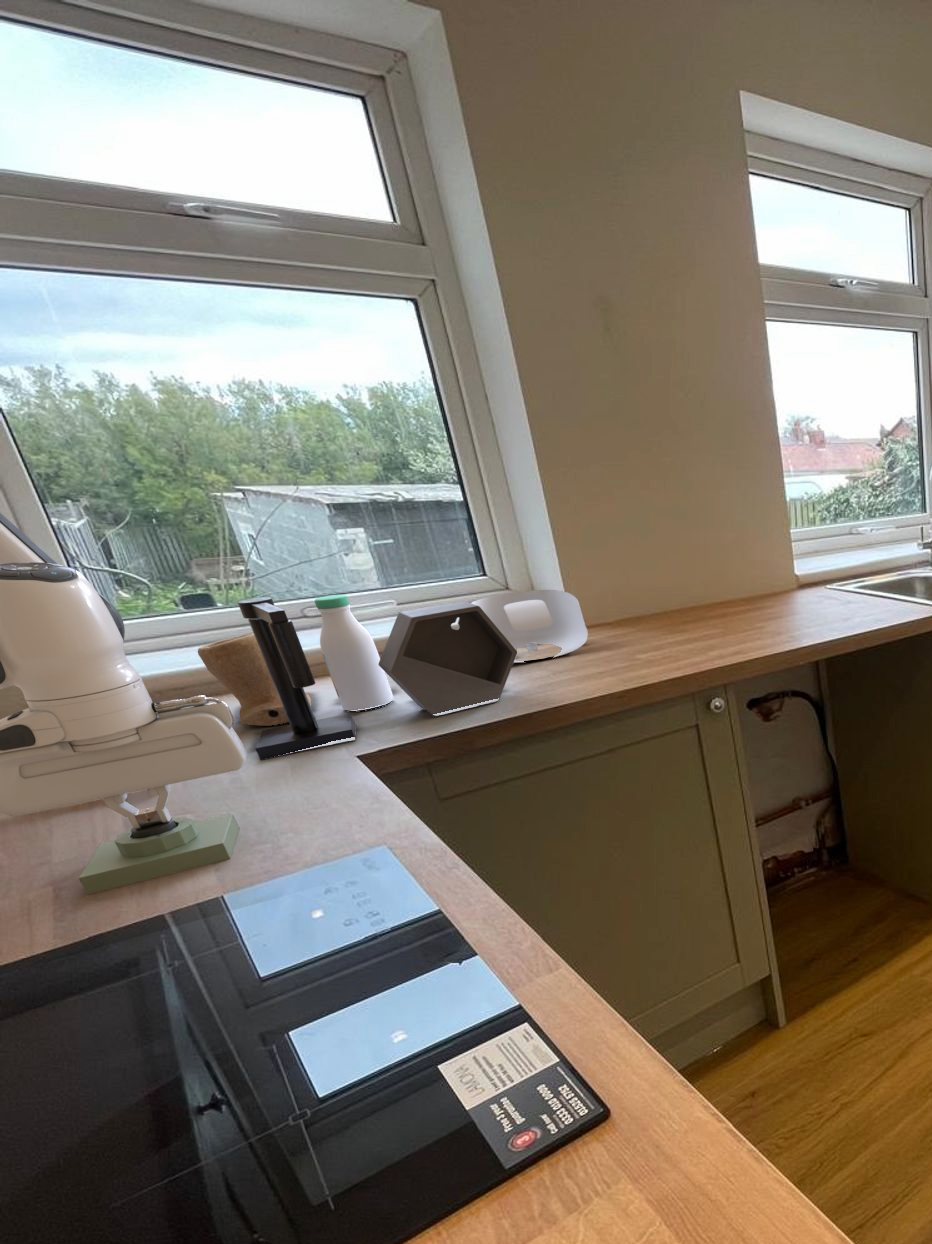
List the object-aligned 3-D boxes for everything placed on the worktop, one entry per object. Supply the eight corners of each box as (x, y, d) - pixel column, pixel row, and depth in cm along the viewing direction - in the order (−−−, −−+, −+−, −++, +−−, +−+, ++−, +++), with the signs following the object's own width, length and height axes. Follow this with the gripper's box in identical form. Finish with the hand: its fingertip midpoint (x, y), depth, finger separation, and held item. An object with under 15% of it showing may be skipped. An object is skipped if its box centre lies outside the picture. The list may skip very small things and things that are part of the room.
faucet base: (260, 760, 125) (204, 630, 117) (265, 741, 132) (213, 618, 124) (355, 740, 131) (309, 616, 123) (355, 724, 139) (312, 606, 131)
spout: (264, 673, 127) (234, 601, 122) (295, 667, 130) (268, 596, 125) (290, 690, 118) (259, 612, 114) (323, 683, 121) (294, 607, 116)
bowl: (570, 636, 192) (558, 586, 187) (593, 651, 178) (581, 597, 174) (474, 653, 180) (458, 600, 176) (491, 670, 166) (474, 614, 162)
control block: (87, 895, 89) (70, 863, 88) (108, 859, 97) (92, 830, 95) (230, 859, 96) (216, 829, 94) (239, 828, 103) (227, 800, 101)
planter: (378, 703, 134) (424, 586, 135) (366, 694, 138) (410, 581, 139) (487, 730, 147) (528, 623, 148) (473, 721, 152) (513, 618, 153)
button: (134, 848, 93) (127, 835, 92) (140, 837, 95) (133, 824, 95) (176, 838, 95) (170, 825, 94) (181, 827, 97) (175, 814, 97)
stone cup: (232, 715, 146) (196, 634, 140) (315, 700, 152) (284, 621, 147) (224, 738, 135) (186, 651, 129) (314, 720, 141) (282, 637, 135)
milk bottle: (405, 699, 150) (368, 592, 143) (365, 714, 144) (324, 602, 136) (373, 697, 152) (335, 591, 145) (332, 711, 146) (290, 601, 138)
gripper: (225, 685, 97) (270, 789, 102) (-28, 727, 86) (37, 841, 91) (218, 698, 92) (266, 806, 98) (-51, 744, 81) (20, 863, 87)
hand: (153, 824), depth 94 cm, fingers closed, pressing on button
